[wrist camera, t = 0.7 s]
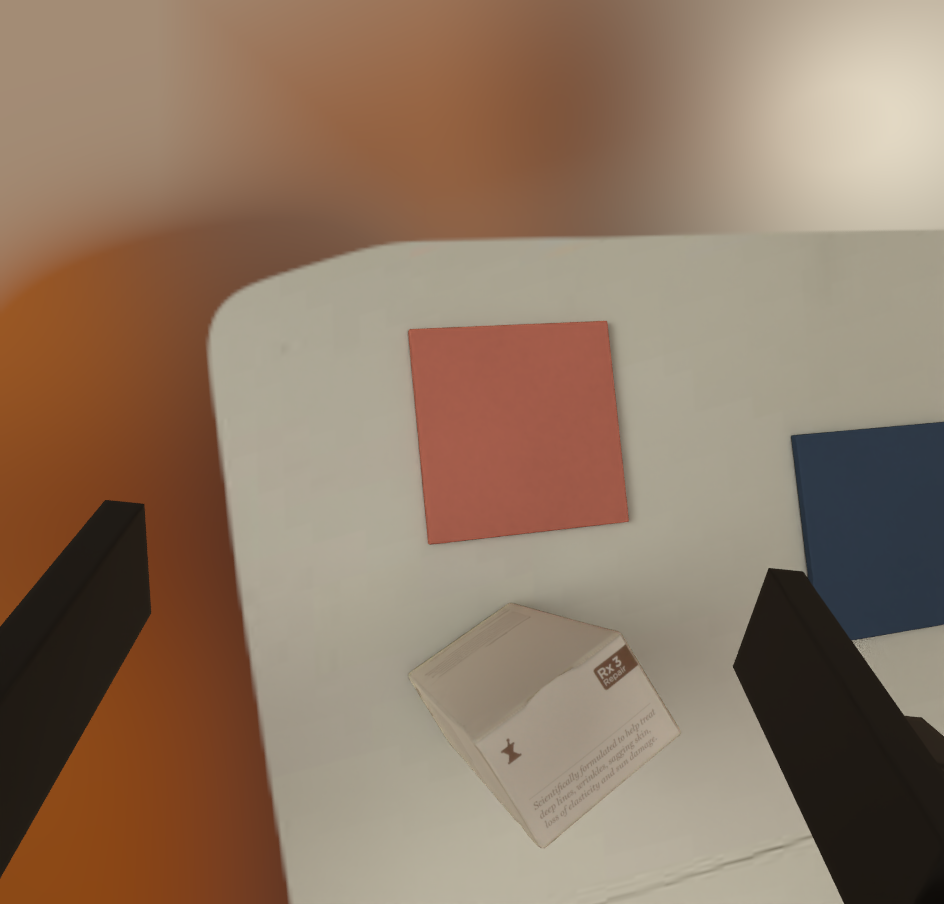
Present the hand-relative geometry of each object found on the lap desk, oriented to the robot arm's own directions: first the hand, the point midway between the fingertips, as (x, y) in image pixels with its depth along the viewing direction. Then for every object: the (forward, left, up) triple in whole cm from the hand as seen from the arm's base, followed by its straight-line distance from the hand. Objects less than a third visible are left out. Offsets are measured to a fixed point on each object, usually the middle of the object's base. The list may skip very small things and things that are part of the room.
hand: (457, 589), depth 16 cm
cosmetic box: (+6, +5, -19) cm, 21 cm away
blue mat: (+2, +28, -19) cm, 34 cm away
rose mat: (-5, +8, -19) cm, 21 cm away
